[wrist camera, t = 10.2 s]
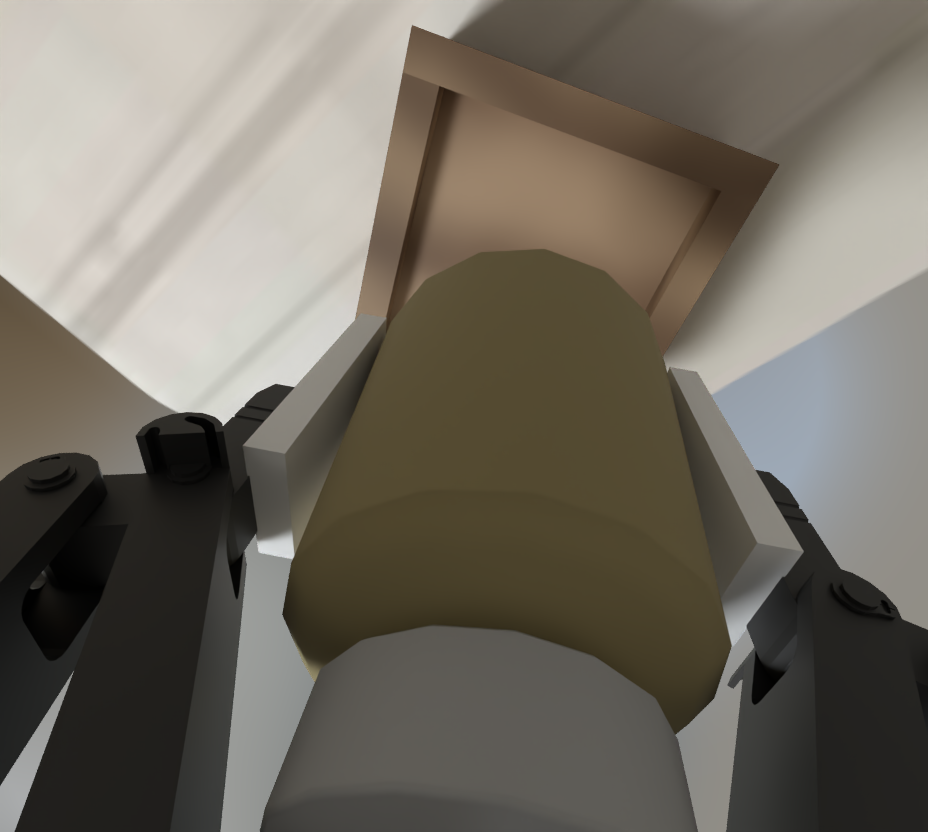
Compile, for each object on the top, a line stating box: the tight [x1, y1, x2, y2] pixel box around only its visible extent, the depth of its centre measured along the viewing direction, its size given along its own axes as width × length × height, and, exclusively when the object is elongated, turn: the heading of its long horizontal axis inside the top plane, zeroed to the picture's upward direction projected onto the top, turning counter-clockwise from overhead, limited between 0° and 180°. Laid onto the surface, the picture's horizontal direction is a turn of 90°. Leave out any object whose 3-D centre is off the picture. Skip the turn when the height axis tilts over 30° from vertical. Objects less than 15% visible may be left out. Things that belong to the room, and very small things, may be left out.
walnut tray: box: [355, 25, 779, 357], centre depth 26 cm, size 15×15×7 cm
